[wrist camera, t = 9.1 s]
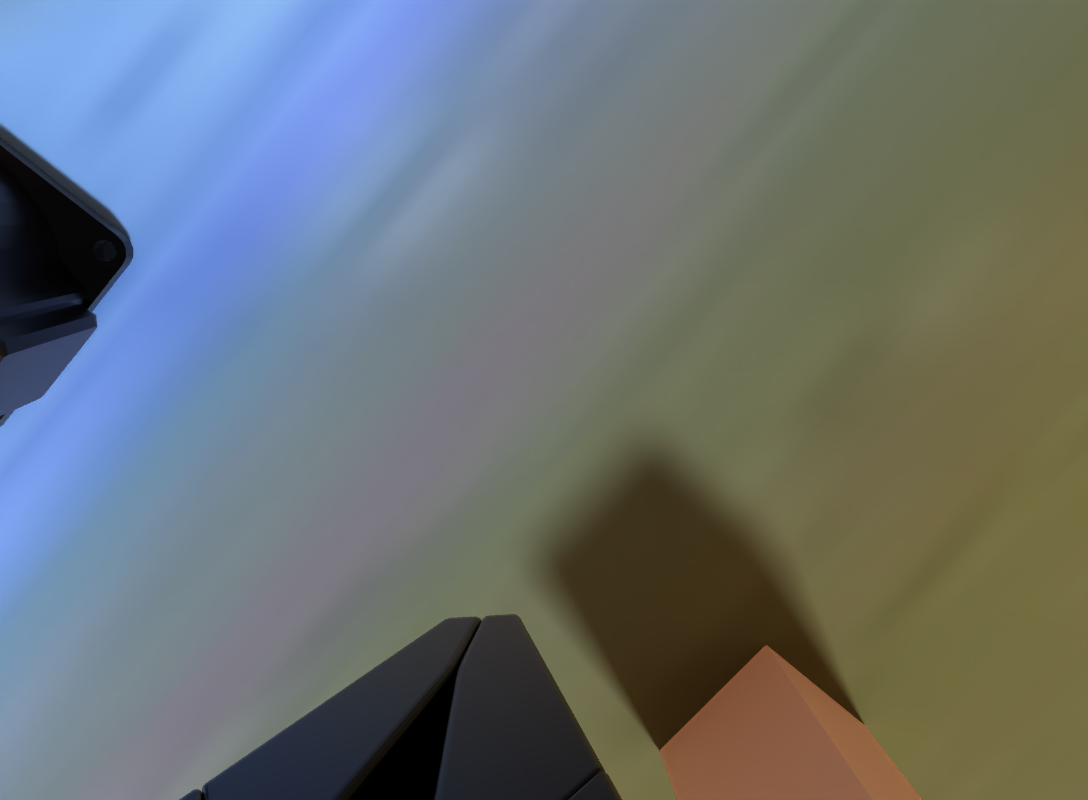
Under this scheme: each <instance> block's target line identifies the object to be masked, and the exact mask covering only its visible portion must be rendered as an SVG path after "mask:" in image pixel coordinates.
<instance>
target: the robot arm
mask: <svg viewBox="0 0 1088 800" xmlns="http://www.w3.org/2000/svg"><path fill="white" fill-rule="evenodd" d="M105 241H108V242H110V243H112V245H113V246H114V247H115V251H116V254H115V257H114V259H112V260H110V259H107V258H106V257H105V256H104V255H103V254H102V250H101V247H102V244H103V243H104V242H105ZM132 258H133V247H132V245H131V242H130V240H129V239H128V238H127V237H126V236H125V235H124V234H123V233H121V232H120V231H119V230H118V229H116V228H115V227H114V226H112V225H111V224H110V223H109V222H107V221H106V220H105V219H103V218H102V217H101V216H100V215H98V214H97V213H96V212H94V211H93V210H92V209H91V208H89V207H88V206H87V205H85V204H84V203H83V202H82V201H80V200H79V199H78V198H76V197H75V196H74V195H73V194H71V193H70V192H69V191H67V190H66V189H65V188H64V187H62V186H61V185H60V184H58V183H57V182H56V181H55V180H53V179H52V178H51V177H49V176H48V175H47V174H46V173H44V172H43V171H42V170H40V169H39V168H38V167H37V166H35V165H34V164H33V163H31V162H30V161H29V160H28V159H26V158H25V157H24V156H22V155H21V154H20V153H19V152H17V151H16V150H15V149H13V148H12V147H11V146H10V145H8V144H7V143H6V142H4V141H3V140H2V139H1V138H0V426H2V425H3V424H4V423H5V421H6V420H7V419H8V418H9V416H10V415H11V414H12V413H13V411H14V410H15V409H17V408H19V407H22V406H24V405H26V404H28V403H30V402H33V401H35V400H37V399H39V398H41V397H42V396H43V395H44V394H45V393H46V391H47V390H48V389H49V388H50V386H51V385H52V384H53V383H54V381H55V380H56V379H57V378H58V376H59V375H60V374H61V373H62V371H63V370H64V369H65V367H66V366H67V365H68V364H69V362H70V361H71V360H72V359H73V357H74V356H75V355H76V354H77V352H78V351H79V350H80V348H81V347H82V346H83V345H84V343H85V342H86V341H87V340H88V338H89V337H90V336H91V335H92V333H93V332H94V331H95V330H96V328H97V320H96V315H95V314H94V313H92V311H93V310H94V308H95V307H96V306H97V305H98V303H99V302H100V301H101V300H102V298H103V297H104V296H105V294H106V293H107V292H108V291H109V289H110V288H111V287H112V286H113V284H114V283H115V282H116V281H117V279H118V278H119V277H120V275H121V274H122V273H123V272H124V270H125V269H126V268H127V267H128V265H129V264H130V262H131V260H132ZM180 800H622V799H621V797H620V795H619V793H618V791H617V790H616V788H615V786H614V784H613V783H612V781H611V779H610V777H609V776H608V774H606V773H605V770H604V768H603V767H602V765H601V763H600V761H599V759H598V758H597V756H596V754H595V752H594V750H593V749H592V747H591V745H590V743H589V741H588V740H587V738H586V736H585V734H584V732H583V731H582V729H581V727H580V725H579V723H578V722H577V720H576V718H575V716H574V714H573V713H572V711H571V709H570V707H569V705H568V704H567V702H566V700H565V698H564V696H563V695H562V693H561V691H560V689H559V687H558V686H557V684H556V682H555V680H554V678H553V677H552V675H551V673H550V671H549V669H548V668H547V666H546V664H545V662H544V660H543V659H542V657H541V655H540V653H539V651H538V650H537V648H536V646H535V644H534V642H533V641H532V639H531V637H530V635H529V633H528V632H527V630H526V628H525V626H524V624H523V623H522V621H521V619H520V618H519V617H518V616H517V615H515V614H509V615H493V616H486V617H485V618H483V620H482V621H481V619H480V618H478V617H459V618H448V619H446V620H444V621H442V622H441V623H439V624H438V625H437V626H435V627H434V628H432V629H431V630H429V631H428V632H426V633H425V634H423V635H422V636H421V637H419V638H418V639H416V640H415V641H413V642H412V643H410V644H409V645H407V646H406V647H404V648H403V649H402V650H400V651H399V652H397V653H396V654H394V655H393V656H391V657H390V658H388V659H387V660H385V661H384V662H383V663H381V664H380V665H378V666H377V667H375V668H374V669H372V670H371V671H369V672H368V673H366V674H365V675H364V676H362V677H361V678H359V679H358V680H356V681H355V682H353V683H352V684H350V685H349V686H347V687H346V688H345V689H343V690H342V691H340V692H339V693H337V694H336V695H334V696H333V697H331V698H330V699H328V700H327V701H326V702H324V703H323V704H321V705H320V706H318V707H317V708H315V709H314V710H312V711H311V712H309V713H308V714H307V715H305V716H304V717H302V718H301V719H299V720H298V721H296V722H295V723H293V724H292V725H290V726H289V727H288V728H286V729H285V730H283V731H282V732H280V733H279V734H277V735H276V736H274V737H273V738H271V739H270V740H268V741H267V742H266V743H264V744H263V745H261V746H260V747H258V748H257V749H255V750H254V751H252V752H251V753H249V754H248V755H247V756H245V757H244V758H242V759H241V760H239V761H238V762H236V763H235V764H233V765H232V766H230V767H229V768H228V769H226V770H225V771H223V772H222V773H220V774H219V775H217V776H216V777H214V778H213V779H211V780H210V781H209V782H207V783H206V784H205V785H204V786H203V788H202V792H201V791H200V790H198V789H196V790H193V791H191V792H190V793H188V794H187V795H186V796H184V797H183V798H181V799H180Z"/></svg>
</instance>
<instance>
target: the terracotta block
mask: <svg viewBox="0 0 1088 800" xmlns="http://www.w3.org/2000/svg"><path fill="white" fill-rule="evenodd" d="M659 751H660V754H661V756H662V759H663V762H664V765H665V768H666V770H667V773H668V776H669V779H670V782H671V784H672V787H673V790H674V793H675V796H676V798H677V800H922V799H921V798H920V796H919V795H918V794H917V792H916V791H915V790H914V789H913V787H912V786H911V785H910V783H909V782H908V781H907V780H906V778H905V777H904V776H903V774H902V773H901V772H900V770H899V769H898V768H897V767H896V765H895V764H894V763H893V761H892V760H891V759H890V757H889V756H888V755H887V754H886V752H885V751H884V750H883V748H882V747H881V746H880V744H879V743H878V742H877V741H876V739H875V738H874V737H873V735H872V734H871V733H870V731H869V730H868V729H867V728H866V726H865V725H864V724H863V723H861V722H860V721H859V720H858V719H856V718H855V717H854V716H853V715H852V714H850V713H849V712H848V711H847V710H845V709H844V708H843V707H842V706H841V705H839V704H838V703H837V702H836V701H834V700H833V699H832V698H831V697H830V696H828V695H827V694H826V693H825V692H823V691H822V690H821V689H820V688H819V687H817V686H816V685H815V684H814V683H812V682H811V681H810V680H809V679H808V678H806V677H805V676H804V675H803V674H801V673H800V672H799V671H798V670H797V669H795V668H794V667H793V666H792V665H790V664H789V663H788V662H787V661H786V660H784V659H783V658H782V657H781V656H779V655H778V654H777V653H776V652H775V651H773V650H772V649H771V648H770V647H768V646H767V645H765V646H764V647H763V648H762V649H761V650H760V651H759V652H758V653H757V654H756V655H755V656H754V657H753V658H752V659H751V660H750V661H749V662H748V663H747V664H746V665H745V666H744V667H743V668H742V669H741V670H740V671H739V672H738V673H737V674H736V675H735V676H734V677H733V678H732V679H731V680H730V681H729V682H728V683H727V684H726V685H725V686H724V687H723V688H722V689H721V690H720V691H719V692H718V693H717V694H716V695H715V696H714V697H713V698H712V699H711V700H710V701H709V702H708V703H707V704H706V705H705V706H704V707H703V708H702V709H701V710H700V711H699V712H698V713H697V714H696V715H695V716H694V717H693V718H692V719H691V720H690V721H689V722H688V723H687V724H686V725H685V726H684V727H682V728H681V729H680V730H679V731H678V732H677V733H676V734H675V735H674V736H673V737H672V738H671V739H670V740H669V741H668V742H667V743H666V744H665V745H664V746H663V747H662V748H661V749H660V750H659Z"/></svg>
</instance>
